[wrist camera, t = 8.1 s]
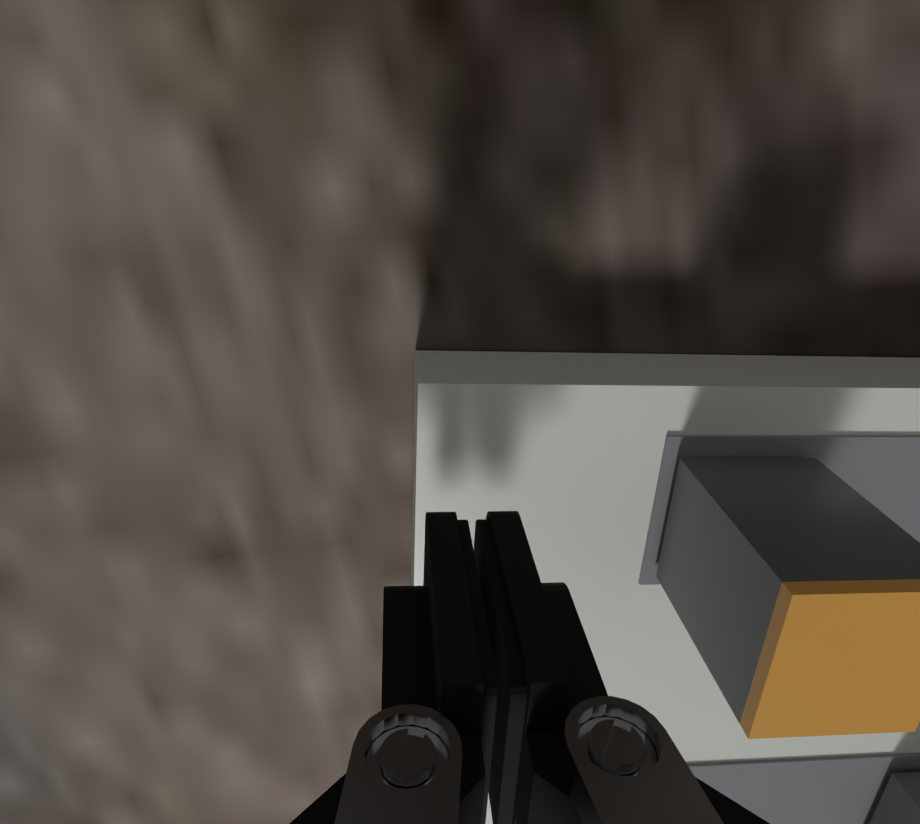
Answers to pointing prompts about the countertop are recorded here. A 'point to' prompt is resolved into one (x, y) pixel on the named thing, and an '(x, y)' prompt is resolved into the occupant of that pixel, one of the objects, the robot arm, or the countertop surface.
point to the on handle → (899, 800)
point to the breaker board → (646, 512)
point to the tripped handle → (795, 596)
